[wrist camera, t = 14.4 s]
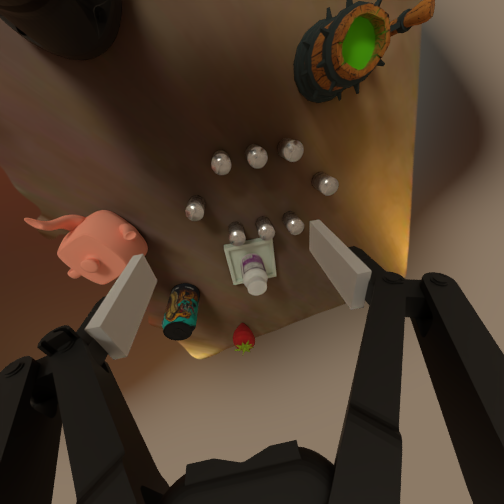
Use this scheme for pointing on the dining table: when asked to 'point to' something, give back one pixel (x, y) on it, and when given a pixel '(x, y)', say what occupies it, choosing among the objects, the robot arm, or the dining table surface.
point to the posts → (257, 159)
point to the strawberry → (243, 338)
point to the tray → (250, 246)
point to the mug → (349, 47)
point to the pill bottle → (254, 273)
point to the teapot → (96, 244)
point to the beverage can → (181, 312)
